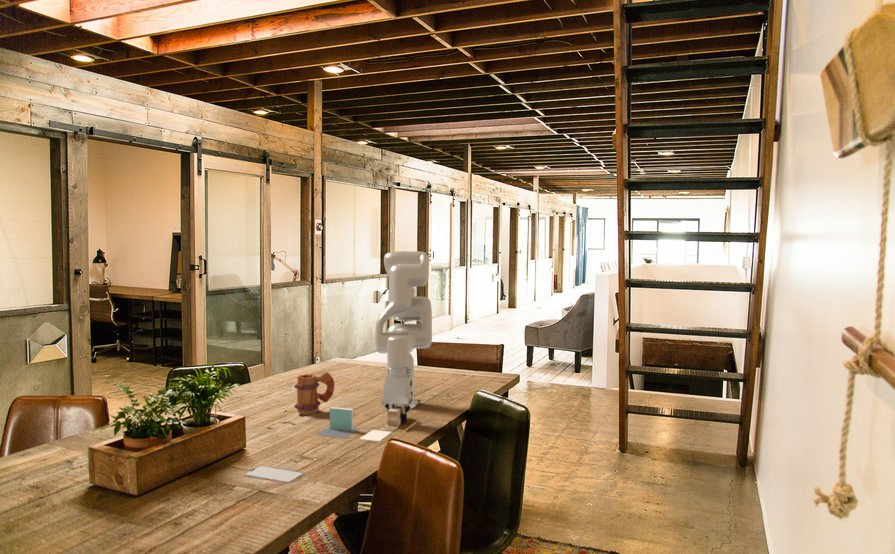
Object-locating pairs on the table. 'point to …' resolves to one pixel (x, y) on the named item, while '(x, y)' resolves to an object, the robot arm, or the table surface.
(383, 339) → the robot arm
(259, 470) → the smartphone
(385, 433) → the pad
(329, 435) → the mat
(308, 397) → the mug
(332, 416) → the tile
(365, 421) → the table surface
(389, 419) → the beige piece
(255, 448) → the table surface
